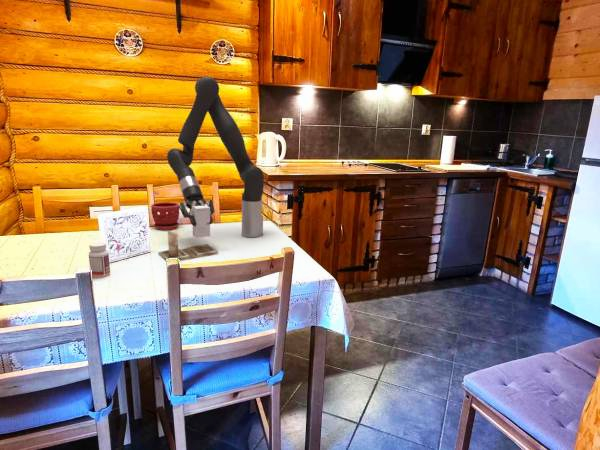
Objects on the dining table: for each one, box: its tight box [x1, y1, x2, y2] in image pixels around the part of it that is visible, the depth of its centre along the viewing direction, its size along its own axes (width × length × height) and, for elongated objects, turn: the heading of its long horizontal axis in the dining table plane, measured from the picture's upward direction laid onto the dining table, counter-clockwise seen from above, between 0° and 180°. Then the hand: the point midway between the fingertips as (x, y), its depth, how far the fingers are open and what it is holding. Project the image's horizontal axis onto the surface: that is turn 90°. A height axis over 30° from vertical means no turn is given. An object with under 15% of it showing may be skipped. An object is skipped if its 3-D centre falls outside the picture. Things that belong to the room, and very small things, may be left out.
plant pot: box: [150, 201, 180, 231], centre depth 201 cm, size 13×13×12 cm
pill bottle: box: [88, 241, 111, 279], centre depth 141 cm, size 6×6×11 cm
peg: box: [167, 229, 179, 258], centre depth 159 cm, size 4×4×10 cm
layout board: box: [157, 243, 219, 262], centre depth 163 cm, size 21×13×2 cm, turn 127°
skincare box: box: [192, 205, 211, 239], centre depth 164 cm, size 6×4×12 cm
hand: (203, 224), depth 163 cm, fingers closed on skincare box, 6 cm apart
